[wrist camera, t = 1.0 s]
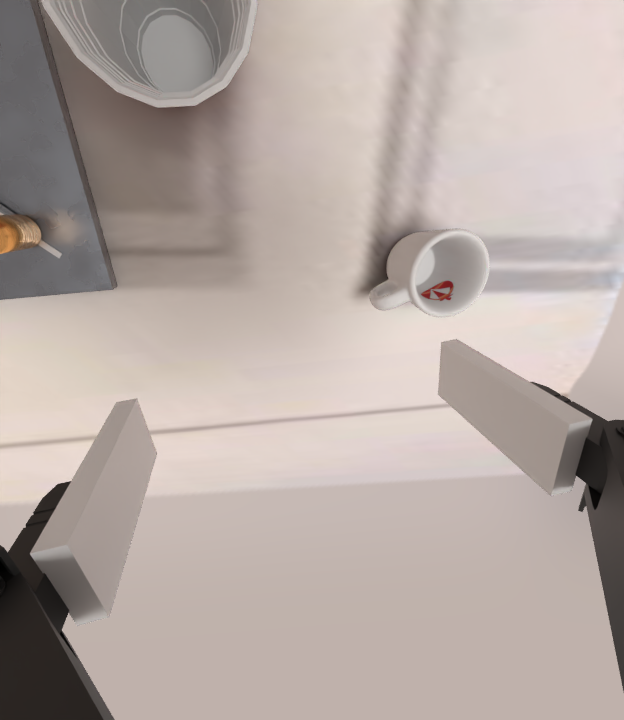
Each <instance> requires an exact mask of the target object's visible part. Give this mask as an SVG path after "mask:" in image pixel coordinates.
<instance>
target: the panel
mask: <svg viewBox="0 0 624 720" xmlns="http://www.w3.org/2000/svg"><path fill="white" fill-rule="evenodd" d="M0 204H1V205H2V206H4V207H5V208H7V209H8V210H10V211H11V212H13V213H14V214H16V215H24V216H27V217H29V218H30V219H32V220H33V221H34V222H35V223H36V224H37V225H38V227H39V229H40V231H41V240H40V242H39V244H38V245H37V246H35V247H33V248H28V249H23V250H18V251H13V252H8V253H3V254H0V300H3V299H14V298H25V297H36V296H47V295H58V294H68V293H79V292H90V291H101V290H112V289H114V288H115V287H117V283H116V280H115V276H114V273H113V269H112V265H111V262H110V258H109V255H108V251H107V248H106V244H105V240H104V237H103V233H102V230H101V226H100V223H99V219H98V215H97V212H96V208H95V205H94V201H93V198H92V194H91V190H90V187H89V183H88V180H87V176H86V173H85V169H84V165H83V162H82V158H81V155H80V151H79V148H78V144H77V140H76V137H75V133H74V130H73V126H72V123H71V119H70V115H69V112H68V108H67V105H66V101H65V98H64V94H63V90H62V87H61V83H60V80H59V76H58V73H57V69H56V65H55V62H54V58H53V55H52V51H51V48H50V44H49V40H48V37H47V33H46V30H45V26H44V23H43V19H42V15H41V12H40V8H39V5H38V1H37V0H0Z"/></svg>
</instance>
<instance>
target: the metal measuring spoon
mask: <svg viewBox="0 0 624 720" xmlns="http://www.w3.org/2000/svg"><path fill="white" fill-rule="evenodd" d="M40 240H41V231H40V229H39V227H38V225H37V224H36V223H35V222H34V221H33V220H32V219H30V218H29V217H27V216H24V215H16V214H14V213H13V212H11V211H10V210H8V209H7V208H5V207H4V206H2V205H1V204H0V254H3V253H8V252H13V251H18V250H23V249H28V248H33V247H35V246H37V245H38V244H39V242H40Z"/></svg>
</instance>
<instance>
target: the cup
mask: <svg viewBox="0 0 624 720" xmlns="http://www.w3.org/2000/svg"><path fill="white" fill-rule="evenodd" d="M489 268H490V261H489V255H488V251H487V248H486V246H485V244H484V243H483V241H482V240H481V239H480V238H479V237H478V236H477V235H475V234H474V233H472V232H470V231H467V230H464V229H446V230H435V231H425V232H417V233H413V234H410V235H408V236H406V237H404V238H402V239H401V240H400V241H399V242H398V243H397V244H396V245H395V246H394V247H393V249H392V250H391V252H390V254H389V257H388V260H387V276H388V280H387V281H385V282H383V283H381V284H379V285H378V286H376V287H375V288H373V289H372V290H371V292H370V295H369V298H370V301H371V303H372V305H373V306H374V307H375V308H377V309H379V310H390V309H393V308H396V307H398V306H400V305H402V304H404V303H406V302H411V303H412V304H414V305H415V306H416V307H417V308H419V309H420V310H421V311H423V312H424V313H426V314H428V315H431V316H434V317H449V316H453V315H456V314H458V313H460V312H462V311H464V310H465V309H467V308H468V307H469V306H470V305H472V304H473V303H474V302H475V300H476V299H477V298H478V297H479V295H480V294H481V292H482V291H483V289H484V287H485V284H486V282H487V279H488V275H489ZM387 294H389V295H387ZM385 295H386V296H385Z"/></svg>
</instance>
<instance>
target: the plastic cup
mask: <svg viewBox="0 0 624 720" xmlns="http://www.w3.org/2000/svg"><path fill="white" fill-rule="evenodd" d="M41 1H42V4H43V7H44V9H45V10H46V12H47V13H48V15H49V16H50V18H51V19H52V21H53V22H54V24H55V25H56V27H57V28H58V30H59V31H60V33H61V34H62V36H63V38H64V39H65V41H66V42H67V44H68V45H69V47H70V48H71V50H72V51H73V53H74V54H75V56H76V57H77V58H78V59H79V60H80V61H81V62H82V63H84V64H85V65H86V66H87V67H88V68H89V69H91V70H92V71H93V72H94V73H95V74H96V75H98V76H99V77H100V78H101V79H102V80H103V81H105V82H106V83H107V84H108V85H109V86H110V87H112V88H113V89H114V90H115V91H116V92H118V93H121V94H124V95H126V96H129V97H131V98H134V99H136V100H139V101H142V102H144V103H147V104H149V105H152V106H154V107H157V108H163V107H181V106H196V105H198V104H199V103H201V102H203V101H204V100H206V99H207V98H209V97H211V96H212V95H214V94H216V93H217V92H219V91H221V90H222V89H224V88H226V87H227V86H228V84H229V83H230V81H231V79H232V78H233V76H234V75H235V73H236V72H237V70H238V68H239V67H240V65H241V64H242V62H243V60H244V59H245V57H246V56H247V54H248V53H249V48H250V43H251V38H252V32H253V27H254V22H255V17H256V12H257V7H258V2H257V0H41Z"/></svg>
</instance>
